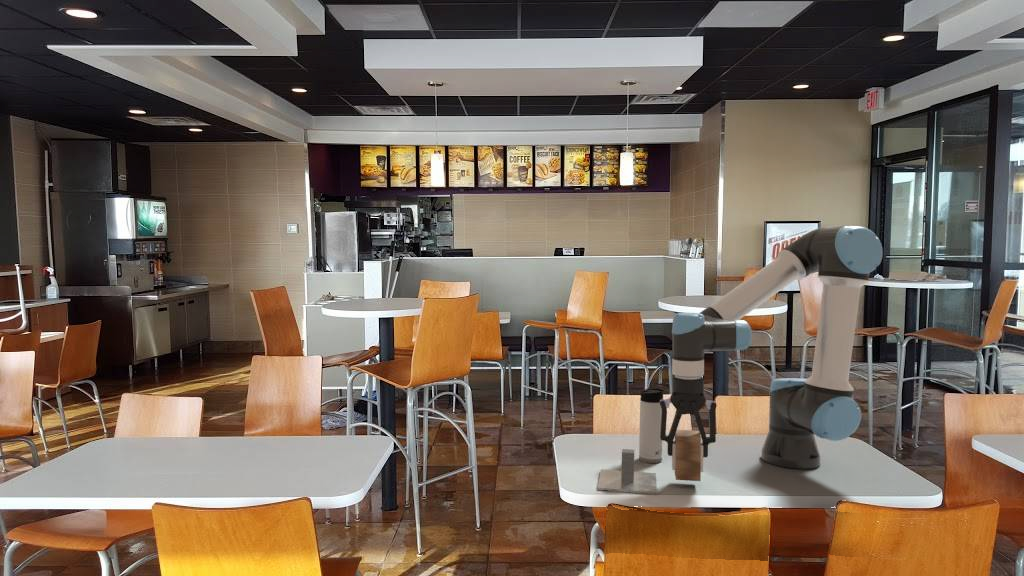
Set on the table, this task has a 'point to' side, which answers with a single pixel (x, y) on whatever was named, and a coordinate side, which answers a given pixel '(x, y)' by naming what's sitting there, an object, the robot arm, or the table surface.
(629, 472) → the post
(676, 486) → the table surface
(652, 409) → the travel mug
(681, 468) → the tall wooden peg
